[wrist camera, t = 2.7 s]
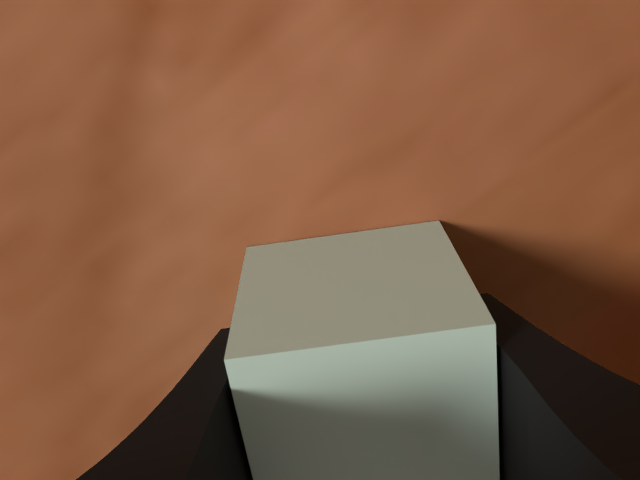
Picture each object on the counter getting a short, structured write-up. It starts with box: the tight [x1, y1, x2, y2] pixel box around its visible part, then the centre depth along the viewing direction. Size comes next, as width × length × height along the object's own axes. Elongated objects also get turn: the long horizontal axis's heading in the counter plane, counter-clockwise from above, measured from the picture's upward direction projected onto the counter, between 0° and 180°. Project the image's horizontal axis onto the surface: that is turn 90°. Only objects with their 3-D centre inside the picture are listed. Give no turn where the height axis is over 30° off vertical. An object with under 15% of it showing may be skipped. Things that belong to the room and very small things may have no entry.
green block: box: [224, 221, 500, 480], centre depth 12 cm, size 4×4×4 cm
